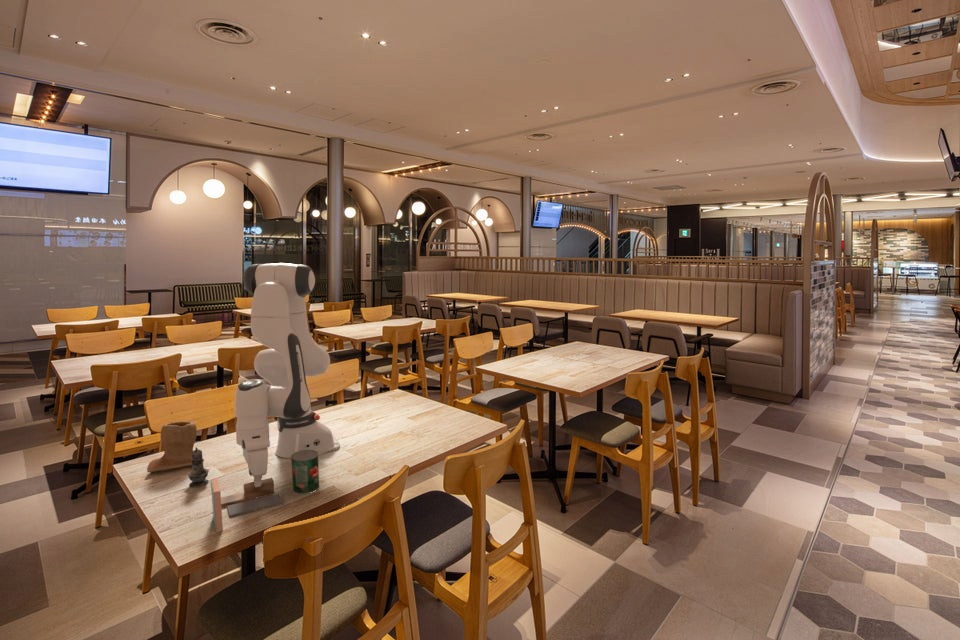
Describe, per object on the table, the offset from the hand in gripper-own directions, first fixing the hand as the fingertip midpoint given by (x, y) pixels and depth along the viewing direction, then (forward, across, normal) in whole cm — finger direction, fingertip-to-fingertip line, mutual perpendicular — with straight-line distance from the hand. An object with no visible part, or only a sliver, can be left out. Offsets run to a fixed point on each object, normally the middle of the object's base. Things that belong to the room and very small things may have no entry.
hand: (255, 480), depth 145 cm
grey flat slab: (+6, +5, -1) cm, 8 cm away
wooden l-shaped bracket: (+5, -1, -2) cm, 6 cm away
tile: (+6, +10, -11) cm, 16 cm away
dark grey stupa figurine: (+5, -19, -14) cm, 24 cm away
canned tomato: (+6, +2, +14) cm, 15 cm away
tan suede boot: (+5, -38, -19) cm, 43 cm away
